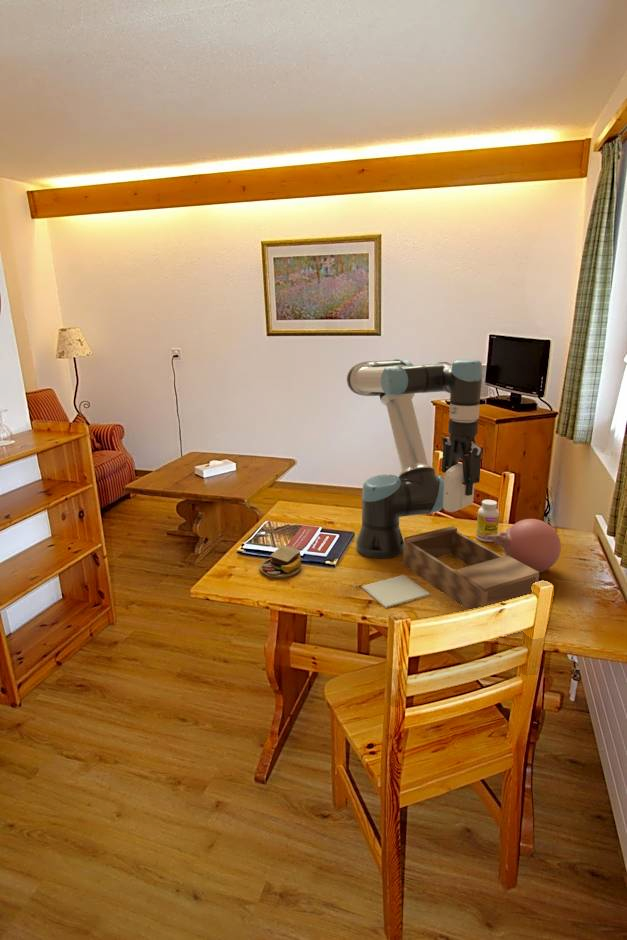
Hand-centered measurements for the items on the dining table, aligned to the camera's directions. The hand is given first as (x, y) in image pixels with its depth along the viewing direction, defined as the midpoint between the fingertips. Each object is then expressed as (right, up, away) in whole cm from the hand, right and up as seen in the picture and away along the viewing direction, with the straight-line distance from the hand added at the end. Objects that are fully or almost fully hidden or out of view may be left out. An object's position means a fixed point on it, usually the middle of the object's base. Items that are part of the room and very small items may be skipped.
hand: (458, 502), depth 154 cm
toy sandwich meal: (-50, -21, +14) cm, 56 cm away
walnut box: (+3, -23, +3) cm, 23 cm away
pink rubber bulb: (+21, -20, +10) cm, 31 cm away
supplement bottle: (+17, -14, +31) cm, 38 cm away
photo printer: (0, -2, +1) cm, 2 cm away
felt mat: (-17, -24, -1) cm, 30 cm away
